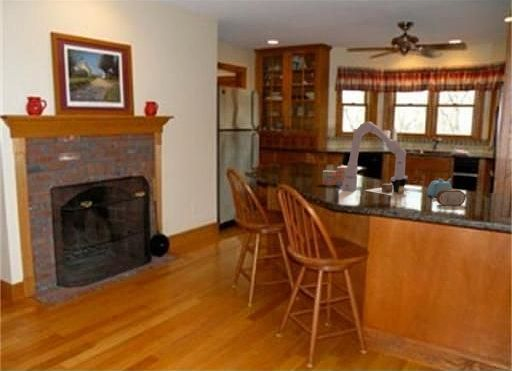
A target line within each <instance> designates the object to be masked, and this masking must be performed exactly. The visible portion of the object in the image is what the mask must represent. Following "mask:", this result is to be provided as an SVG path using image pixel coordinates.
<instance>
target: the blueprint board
mask: <svg viewBox="0 0 512 371" xmlns="http://www.w3.org/2000/svg"><path fill="white" fill-rule="evenodd" d="M364 191H366V192H372V193H376V194H377V193H378V194H383V195H388V196H392V197H393V196H394V197H396V196H397V197H398V196H404V195H407V194H410V192H408V191H404V194H400V195H399V194H394V193H393V189H392V192H382V187H377V188H376V187H375V188H370V189H365V190H364Z"/></svg>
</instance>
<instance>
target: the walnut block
mask: <svg viewBox="0 0 512 371" xmlns="http://www.w3.org/2000/svg"><path fill="white" fill-rule="evenodd" d="M381 188H382V192H392V190H393V185H392V183H382V184H381Z"/></svg>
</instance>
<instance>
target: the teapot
mask: <svg viewBox="0 0 512 371" xmlns="http://www.w3.org/2000/svg"><path fill="white" fill-rule="evenodd" d="M451 181H452V178H448V179H447V181H445V180H444V179H443V178H438V180H432V181H430V184H429V185H428V188H427V195H428V196H429V197H433V198H436V196H437V194H438V192H439V191H441V190H453V187H452V184H451Z"/></svg>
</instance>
